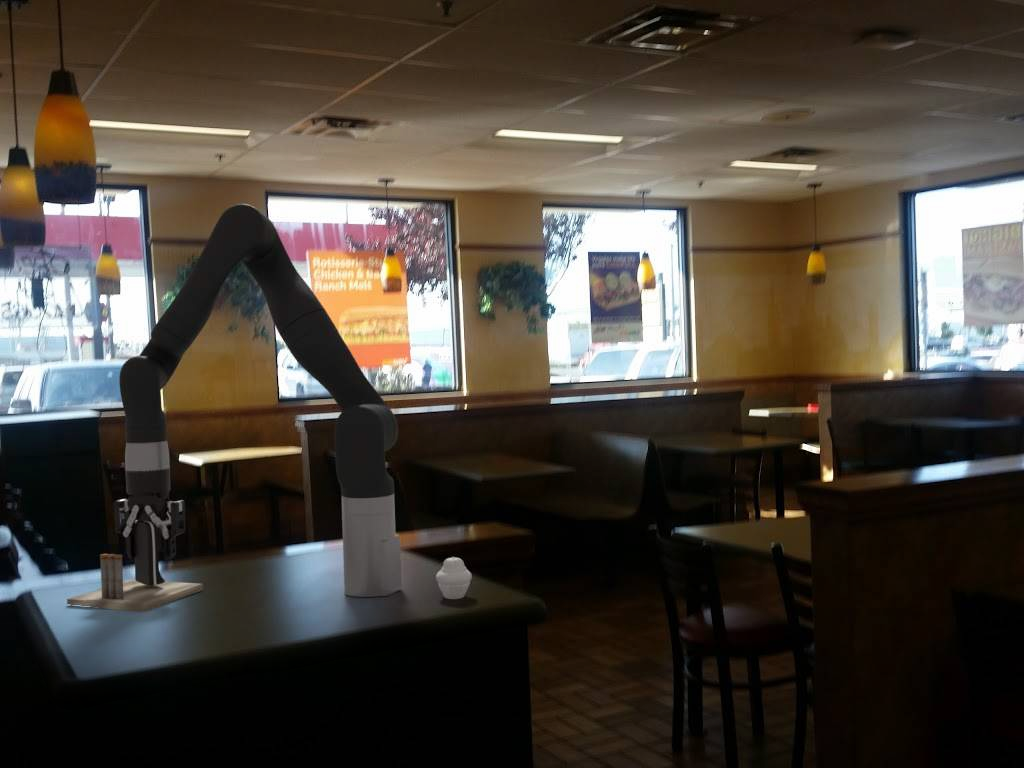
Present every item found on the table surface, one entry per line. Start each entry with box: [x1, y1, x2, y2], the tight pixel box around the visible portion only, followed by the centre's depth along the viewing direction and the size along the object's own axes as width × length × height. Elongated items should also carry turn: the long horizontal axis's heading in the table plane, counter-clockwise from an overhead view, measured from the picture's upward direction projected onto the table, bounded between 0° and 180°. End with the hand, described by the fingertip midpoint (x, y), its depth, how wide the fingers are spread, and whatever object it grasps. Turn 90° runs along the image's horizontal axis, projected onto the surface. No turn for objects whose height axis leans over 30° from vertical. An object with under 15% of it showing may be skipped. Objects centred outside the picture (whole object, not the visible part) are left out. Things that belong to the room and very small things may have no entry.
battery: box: [133, 521, 166, 586], centre depth 187 cm, size 7×4×11 cm, turn 43°
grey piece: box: [435, 556, 473, 600], centre depth 178 cm, size 6×6×7 cm
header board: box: [66, 553, 204, 612], centre depth 184 cm, size 16×16×9 cm
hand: (151, 557), depth 187 cm, fingers closed on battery, 7 cm apart
